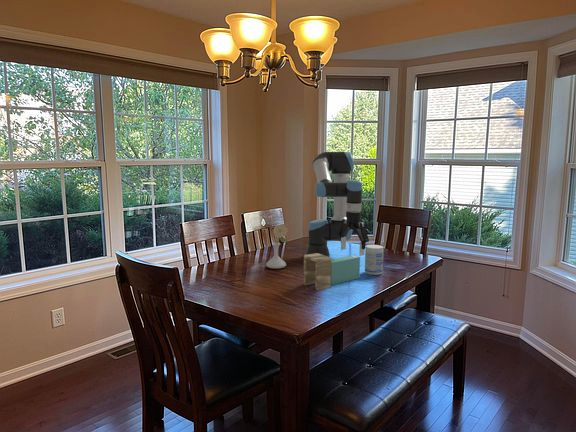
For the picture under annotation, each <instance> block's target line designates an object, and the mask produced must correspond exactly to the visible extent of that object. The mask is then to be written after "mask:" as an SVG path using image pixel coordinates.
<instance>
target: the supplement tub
mask: <svg viewBox="0 0 576 432" xmlns="http://www.w3.org/2000/svg"><path fill="white" fill-rule="evenodd" d="M364 255H365V256H364V273H365V274H367V275H370V276H381V275H382V274H383V271H384V267H383V266H384V246H382V245H379V244H367V245H366V246H365V252H364Z"/></svg>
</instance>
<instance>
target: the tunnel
mask: <svg viewBox="0 0 576 432" xmlns="http://www.w3.org/2000/svg"><path fill="white" fill-rule="evenodd" d="M331 259H332V257H331V256H330V257H328V256H325V255H322V254H319V253H314V254H308V255H305V254H304V255H303V285H304V286H310V285H313V284H314V286H315V288H314V289H315V290H316V291H322V290H325V289H329V288H331Z"/></svg>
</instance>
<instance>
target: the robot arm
mask: <svg viewBox="0 0 576 432" xmlns="http://www.w3.org/2000/svg"><path fill="white" fill-rule="evenodd" d="M311 167H312V169H313V170H312V171H314V173H315V176H316V180H317V182H316V183H315V186H314V187H315V188H314V190H315V191H314V192H315V196H316V197H318V198H333V216H332V217H331V218H330V221H328V219H326V218H323V219H322V218H321V219H315V220H312V221H309V223H308V229H307V230H308V231H307V232H308V233H307V235H308V238H307V239H308V241H307V243H308V245H307V248H306V251H305V253H304V255H308V254H314V253H319V254H322V255H325V256H328V257H331V253H330V251H329V247H328V242H340V250H341V251H343V250H346V248H347V247H346V246H347V241H348V242H349V241H350V240H351V238H352V235H353V231H354V232H356V235H357V236H358V239H359V241H360V242H359V252H358V253H359V257H360V256H364V255H365V249H366V246H367V245H366V243H369V242H370V239H369V236H368V233H367V230H366V224H365V222H363V221H362V222H361V219H362V212H361V211H362V197H363V181H362V180H357V179H349V177H350V176H351V174H352V172H354V169H355V163H354V158H353V155H352V153H351V152H349V151H322V152H320V153H319V154H318V155H316V156H315V157H314V159H313V161H312V165H311ZM330 172H331V174H330ZM331 175H332V176H333V181H332V177H331Z"/></svg>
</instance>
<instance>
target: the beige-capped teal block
mask: <svg viewBox="0 0 576 432" xmlns="http://www.w3.org/2000/svg"><path fill="white" fill-rule="evenodd" d="M360 267H361V257H360V256H356V255H348V256H343V257H342V256H341V257H337V258H331V285H336V284H340V283H344V282H348V281H349V282H350V281H354V280H357V279H360V273H361V272H360V270H361V269H360Z"/></svg>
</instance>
